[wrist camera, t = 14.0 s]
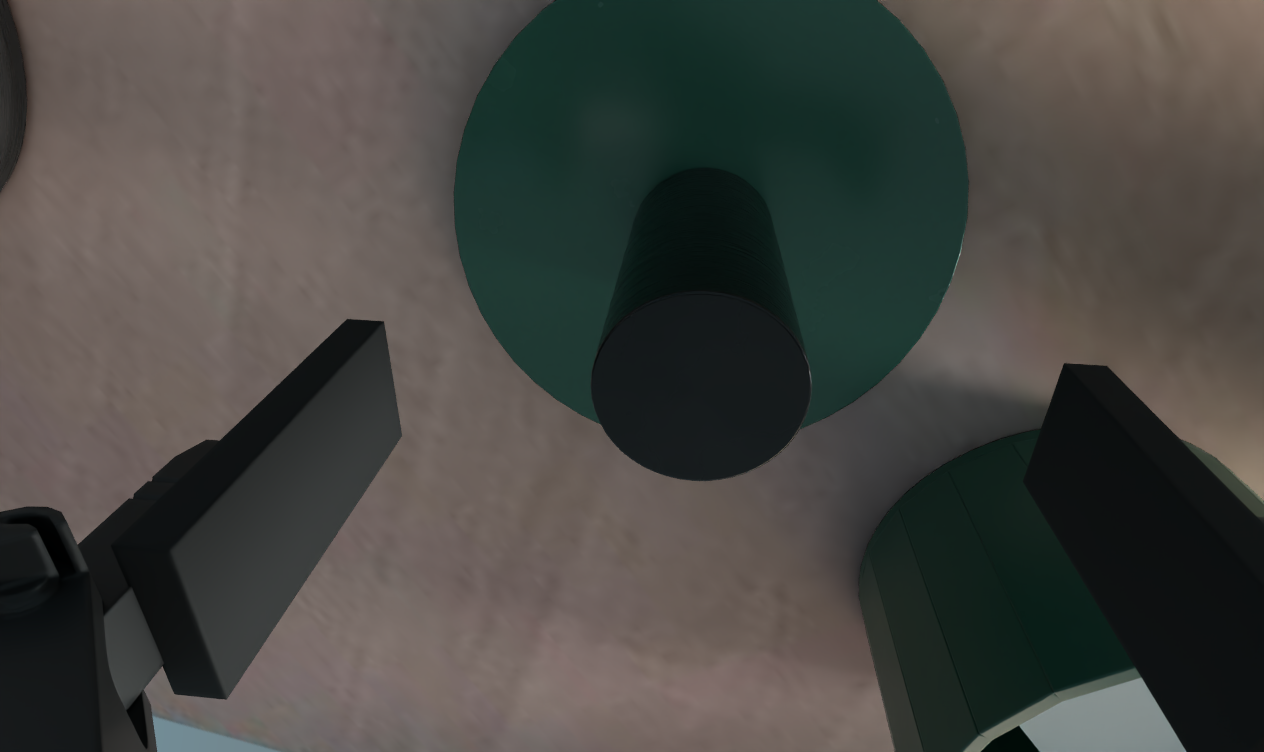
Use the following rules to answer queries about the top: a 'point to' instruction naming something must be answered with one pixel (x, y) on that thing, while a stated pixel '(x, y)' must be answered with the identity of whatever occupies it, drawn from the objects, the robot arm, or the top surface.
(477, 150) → the green disc with post
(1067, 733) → the white cube
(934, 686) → the green tube
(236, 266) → the top surface
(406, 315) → the top surface
